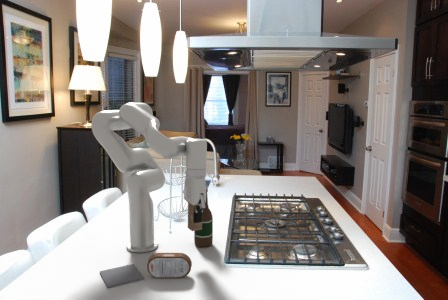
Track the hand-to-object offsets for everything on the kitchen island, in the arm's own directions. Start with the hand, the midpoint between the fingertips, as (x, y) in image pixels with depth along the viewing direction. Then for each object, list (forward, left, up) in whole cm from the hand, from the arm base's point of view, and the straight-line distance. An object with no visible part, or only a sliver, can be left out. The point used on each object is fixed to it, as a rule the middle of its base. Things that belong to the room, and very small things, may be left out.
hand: (194, 219), depth 136 cm
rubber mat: (0, -28, -15) cm, 32 cm away
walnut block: (0, 0, -3) cm, 3 cm away
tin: (+8, -14, -16) cm, 22 cm away
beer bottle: (-11, +9, -16) cm, 22 cm away
